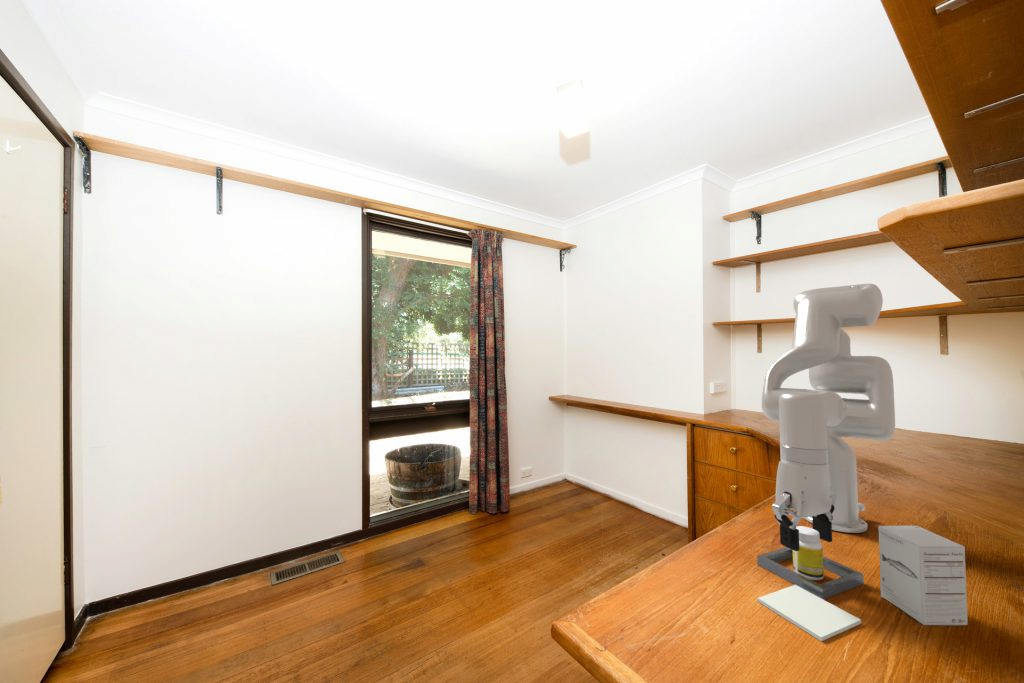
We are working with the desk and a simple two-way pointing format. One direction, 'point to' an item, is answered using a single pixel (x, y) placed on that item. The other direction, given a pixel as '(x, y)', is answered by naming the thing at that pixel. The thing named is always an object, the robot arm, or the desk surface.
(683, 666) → the desk surface
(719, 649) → the desk surface
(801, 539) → the supplement bottle
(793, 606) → the mat
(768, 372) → the robot arm
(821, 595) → the frame
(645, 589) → the desk surface
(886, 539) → the supplement box
